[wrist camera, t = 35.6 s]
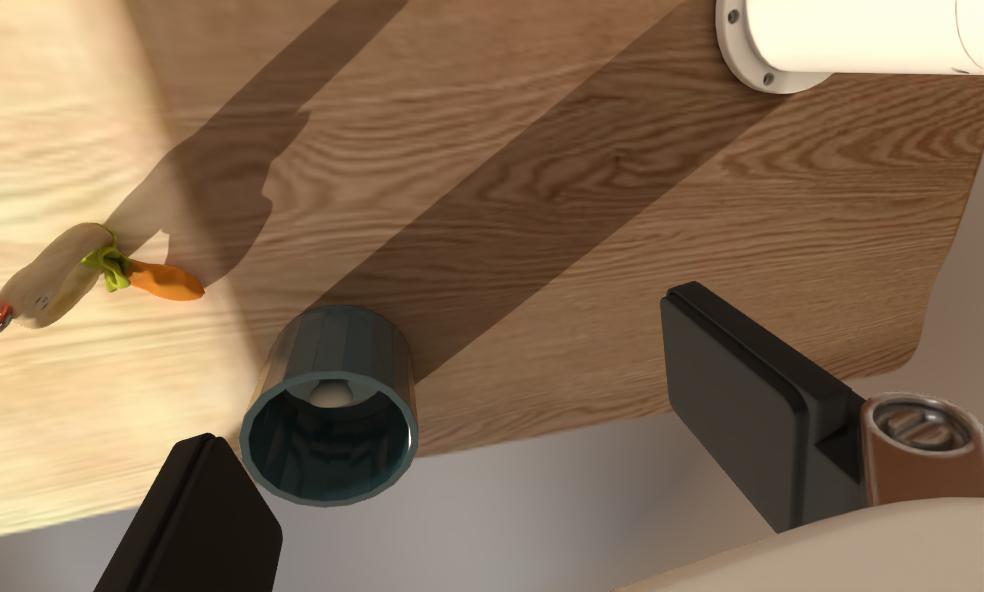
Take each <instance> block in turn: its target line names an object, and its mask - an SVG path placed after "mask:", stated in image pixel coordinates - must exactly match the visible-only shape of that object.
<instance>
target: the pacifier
mask: <svg viewBox="0 0 984 592" xmlns="http://www.w3.org/2000/svg"><path fill="white" fill-rule="evenodd" d="M287 391H288V392H290V394H292V395H293V396H294V397H297V398H299V399H303V400H305V401H306V402H308V403H311V404H312V405H314V406H317V407H323V408H340V407H349V406H353V405H357V404H359V403H361V402H364V401H366V400H367V399H368V398H370V397H371V396H373V395H374V394H376V393H377V391H378V390H377V389H375V388H373V387H371V386H369V385H367V384H364V383H359V382H354V381H350V380H345V379H320V380H311V381H308V382H305V383H301V384H298V385H295V386H292V387H289V388H287Z"/></svg>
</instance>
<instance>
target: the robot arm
mask: <svg viewBox="0 0 984 592" xmlns="http://www.w3.org/2000/svg"><path fill="white" fill-rule="evenodd" d="M715 26H716V32H717V39H718V44H719V47H720V50H721V53H722V56H723V59H724V60H725V62H726V64H727V65H728V67H729V69H730V70H731V72H732V73H733V74H734V75H735V76H736V77H737V78H738V79H739V80H740V81H741V82H742V83H744V84H746V85H747V86H749V87H750V88H752V89H755V90H758V91H761V92H765V93H775V94H787V93H795V92H799V91H802V90H806V89H809V88H811V87H813V86H815V85H817V84H819V83H821V82H822V81H824V80H825V79H826V78H828V77H829V76H831V75H832V74H833V73H835V72H847V73H905V74H964V75H984V0H717V1H716V20H715ZM660 308H661V319H662V330H663V340H664V351H665V362H666V373H667V384H668V395H669V400H670V403H671V405H672V407H673V409H674V411H675V412H676V414H677V415H678V416H679V417H680V418H681V420H682V421H683V422H684V423H685V424H686V426H687V427H688V428H689V429H690V430H691V432H692V433H693V434H694V435H695V436H696V437H697V439H698V440H699V441H700V442H701V444H702V445H703V446H704V447H705V448H706V450H707V451H708V452H709V453H710V454H711V455H712V457H713V458H714V459H715V460H716V462H717V463H718V464H719V465H720V466H721V468H722V469H723V470H724V471H725V472H726V474H727V475H728V476H729V477H730V478H731V480H732V481H733V482H734V483H735V484H736V485H737V487H738V488H739V489H740V490H741V491H742V493H743V494H744V495H745V496H746V497H747V499H748V500H749V501H750V502H751V503H752V505H753V506H754V507H755V508H756V509H757V511H758V512H759V513H760V514H761V515H762V517H763V518H764V519H765V520H766V521H767V523H768V524H769V525H770V526H771V527H772V529H773V530H774V531H775V532H776V533H777V534H776V535H773V536H770V537H767V538H764V539H761V540H758V541H755V542H752V543H749V544H746V545H743V546H740V547H737V548H734V549H730V550H727V551H724V552H722V553H719V554H716V555H713V556H710V557H707V558H704V559H701V560H699V561H696V562H693V563H690V564H687V565H684V566H681V567H678V568H676V569H673V570H670V571H667V572H664V573H661V574H658V575H656V576H653V577H650V578H647V579H644V580H641V581H638V582H635V583H632V584H630V585H627V586H624V587H621V588H618V589H616V590H613V591H609V592H984V428H983V426H982V425H981V423H980V422H979V420H977V419H976V418H975V417H974V416H973V415H971V414H970V413H969V412H968V411H966V410H965V409H963V408H961V407H959V406H957V405H955V404H953V403H951V402H949V401H946V400H944V399H941V398H938V397H935V396H932V395H926V394H921V393H916V392H899V391H894V392H888V393H881V394H878V395H876V396H874V397H871V398H869V399H868V400H867V401H866V400H864V399H863V398H862V397H860V396H859V395H858V394H856V393H855V392H853V391H852V389H851V388H850V387H848V386H847V385H845V384H844V383H843V382H841V381H840V380H838V379H837V378H835V377H834V376H832V375H831V374H830V373H828V372H827V371H825V370H824V369H822V368H821V367H819V366H818V365H817V364H815V363H814V362H812V361H811V360H809V359H808V358H807V357H805V356H804V355H802V354H801V353H799V352H798V351H796V350H795V349H794V348H792V347H791V346H789V345H788V344H786V343H785V342H783V341H782V340H781V339H779V338H778V337H776V336H775V335H773V334H772V333H771V332H769V331H768V330H766V329H765V328H763V327H762V326H760V325H759V324H758V323H756V322H755V321H753V320H752V319H750V318H749V317H747V316H746V315H745V314H743V313H742V312H740V311H739V310H737V309H736V308H735V307H733V306H732V305H730V304H729V303H727V302H726V301H724V300H723V299H722V298H720V297H719V296H717V295H716V294H714V293H713V292H711V291H710V290H709V289H707V288H706V287H704V286H703V285H701V284H700V283H698V282H696V281H692V282H689V283H686V284H683V285H679V286H676V287H673V288H670V289H668V291H667V294H666V297H664V298H662V299H661V301H660ZM282 541H283V536H282V530H281V526H280V524H279V522H278V521H277V519H276V518H275V516H274V515H273V513H272V512H271V510H270V508H269V507H268V505H267V504H266V502H265V501H264V499H263V497H262V496H261V494H260V493H259V491H258V490H257V488H256V486H255V485H254V483H253V482H252V480H251V479H250V477H249V475H248V474H247V472H246V471H245V469H244V468H243V466H242V465H241V463H240V461H239V460H238V458H237V457H236V455H235V454H234V452H233V450H232V449H231V447H230V446H229V444H228V443H227V441H226V440H225V439H224V438H223V437H215V436H214V435H213V434H211V433H205V434H201V435H198V436H195V437H192V438H189V439H185V440H182V441H179V442H177V443H176V444H175V445H174V447H173V448H172V450H171V452H170V454H169V456H168V457H167V459H166V461H165V463H164V465H163V466H162V468H161V470H160V472H159V474H158V475H157V477H156V479H155V481H154V483H153V484H152V486H151V488H150V490H149V492H148V494H147V495H146V497H145V499H144V501H143V503H142V504H141V506H140V508H139V510H138V512H137V513H136V515H135V517H134V519H133V521H132V522H131V525H130V526H129V528H128V530H127V532H126V533H125V535H124V537H123V539H122V541H121V542H120V544H119V546H118V548H117V550H116V551H115V553H114V555H113V557H112V559H111V560H110V562H109V564H108V566H107V568H106V570H105V571H104V573H103V575H102V577H101V579H100V580H99V582H98V584H97V586H96V588H95V590H94V591H93V592H272V589H273V584H274V580H275V575H276V570H277V566H278V561H279V556H280V551H281V547H282Z"/></svg>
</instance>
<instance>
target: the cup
mask: <svg viewBox="0 0 984 592" xmlns="http://www.w3.org/2000/svg"><path fill="white" fill-rule="evenodd" d="M320 379H345V380H350V381H354V382H359V383H364V384H367V385H369V386H371V387H373V388H375V389H377V390H378V391H377V393H376V394H374V395H373V396H371V397H370V398H368V399H367V400H366V401H364V402H361V403H359V404H357V405H353V406H349V407H340V408H323V407H317V406H314V405H312V404H311V403H308V402H306V401H305V400H303V399H299V398H297V397H294V396H293V395H292V394H290V392H288V391H287V388H289V387H292V386H295V385H298V384H301V383H305V382H308V381H311V380H320ZM238 440H239V447H240V453H241V459H242V462H243V463H244V465H245V467H246V468H247V470H248V471H249V473H250V474H251V476H252V478H253V479H254V480H255V481H256V482H257V483H259V484H260V485H261V486H262V487H264V488H265V489H266V490H268V491H269V492H270V493H271V494H274V495H275V496H278V497H280V498H283V499H285V500H288V501H290V502H293V503H295V504H300V505H307V506H314V507H324V508H326V507H337V506H348V505H352V504H355V503H357V502H361V501H364V500H367V499H370V498H373V497H375V496H376V495H378V494H380V493H381V492H383V491H384V490H386V489H387V488H389V487H391V486H392V485H394V484H395V483H396V482H397V481H398V480H399V478H400V477H401V476H402V475H403V474H404V473H405V472H406V471H407V469H408V468H409V467H410V465H411V463H412V460H413V458H414V456H415V453H416V451H417V449H418V419H417V409H416V398H415V387H414V377H413V366H412V359H411V354H410V350H409V347H408V345H407V342H406V340H405V338H404V337H403V335H402V334H401V332H400V331H399V330H398V329H397V328H396V327H395V326H394V325H393V324H392V323H391V322H390V321H388V320H387V319H385V318H384V317H382V316H381V315H379V314H377V313H375V312H373V311H370V310H367V309H364V308H360V307H356V306H347V305H334V306H326V307H321V308H317V309H314V310H311V311H309V312H306V313H304V314H302V315H300V316H299V317H297V318H296V319H294V320H293V321H291V322H290V323H289V324H288V325H287V326H286V327H285V328H284V329H283V330H282V331H281V333H280V334H279V335H278V337H277V339H276V340H275V342H274V344H273V346H272V348H271V350H270V353H269V355H268V358H267V360H266V363H265V365H264V368H263V370H262V373H261V375H260V378H259V380H258V383H257V385H256V388H255V390H254V393H253V395H252V398H251V400H250V403H249V405H248V408H247V410H246V413H245V415H244V418H243V422H242V426H241V429H240V433H239V437H238Z"/></svg>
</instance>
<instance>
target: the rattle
mask: <svg viewBox="0 0 984 592" xmlns="http://www.w3.org/2000/svg"><path fill="white" fill-rule="evenodd" d="M102 270H104V272H105V285H106V288H107V291H108V292H114V291H115V290H117V289H118V288H122V289H123V288H127V287H128V286H130V285H132V286H134V287H138V288H141V289H144V290H147V291H148V292H150V293H152V294H154V295H156V296H159V297H162V298H165V299H169V300H174V301H190V300H195V299H199V298H201V297H202V296H203V294H204V293H205V291H204V289H203V287H202V285H201V284H200V283H199V282H198V280H197V279H196V278H194V277H193V276H192V275H190V274H189V273H187V272H185V271H183V270H181V269H179V268H176V267H173V266H169V265H160V264H147V263H143V262H139V261H136V260H132V259H130V258H128V257H126V256H125V255H123V254H121V253H120V252H119V250H118V243H117V235H116V234H115V232H113V231H112V230H111V229H109V228H108V227H106V226H104V225H101V224H98V223H81V224H78V225H76V226H74V227H72V228H70V229H68V230H67V231H65V232H64V233H63V234H61V235H60V236H59V237H57V238H56V239H55V240H54V241H53V242H52V243H51V244H50V245H49V246H48V247H47V248H46V249H45V250H44V251H43V252H42V253H41V254H40V255H39V256H38V257H37V258H36V259H35V260H34V261H33V262H32V263H31V264H29V265H28V266H26V267H24V268H23V269H21V270H20V271H18V272H17V273H16V274H15V275H14V276H12V277H11V278H10V280H9V281H8V282H7V283H6V284H5V285H4V287H3V288H2V289H1V291H0V314H1V315H0V324H1V323H2V325H1V326H0V332H2V331H3V330H4V329H5V328H6V327H7V326H8V325H9V323H10V322H11V320H12V321H13V322H14V323H16V324H18V325H20V326H22V327H25V328H28V329H41V328H44V327H46V326H49V325H50V324H52V323H54V322H55V321H57V320H58V319H60V318H61V317H62V316H63V315H65V314H66V313H67V312H68V311H69V310H70V309H71V308H72V307H74V306H75V305H76V304H77V303H78V301H79V300H80V299H81V298H82V297H83V296H84V295H85V294H87V293H88V292H89V291H90V290H91V289H92V287H93V286H94V285H95V283H96V281H97V279H98V277H99V275H100V274H101V272H102Z"/></svg>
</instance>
